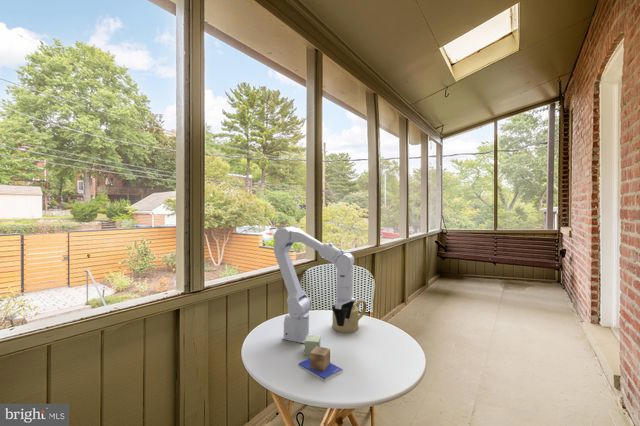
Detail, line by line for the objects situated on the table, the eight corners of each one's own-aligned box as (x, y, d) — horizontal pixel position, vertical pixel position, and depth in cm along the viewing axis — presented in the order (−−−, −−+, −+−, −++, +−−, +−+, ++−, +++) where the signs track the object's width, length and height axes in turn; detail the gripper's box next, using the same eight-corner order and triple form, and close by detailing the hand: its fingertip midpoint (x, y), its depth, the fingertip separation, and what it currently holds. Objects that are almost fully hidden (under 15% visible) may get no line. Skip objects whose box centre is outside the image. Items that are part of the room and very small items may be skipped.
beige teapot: (346, 317, 148) (346, 285, 147) (367, 323, 141) (368, 290, 140) (327, 328, 136) (327, 293, 135) (349, 335, 129) (350, 298, 128)
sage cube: (304, 354, 113) (304, 340, 113) (306, 348, 118) (307, 334, 118) (318, 355, 112) (318, 341, 112) (320, 349, 117) (320, 335, 117)
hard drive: (342, 368, 103) (316, 354, 111) (325, 378, 97) (298, 362, 106) (342, 373, 103) (315, 358, 112) (325, 383, 97) (298, 367, 106)
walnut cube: (310, 367, 103) (310, 352, 103) (316, 360, 107) (316, 346, 107) (324, 371, 101) (324, 355, 101) (330, 363, 105) (330, 348, 105)
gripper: (349, 292, 110) (348, 331, 111) (360, 282, 123) (359, 316, 124) (330, 290, 112) (329, 327, 113) (342, 280, 126) (341, 313, 127)
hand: (343, 321), depth 119 cm, fingers open, 7 cm apart
